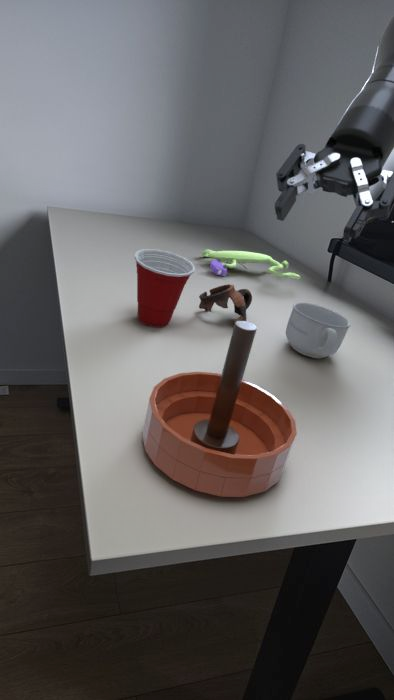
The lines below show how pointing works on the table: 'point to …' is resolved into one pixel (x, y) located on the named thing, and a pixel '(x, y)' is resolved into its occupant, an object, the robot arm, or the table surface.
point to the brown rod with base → (227, 394)
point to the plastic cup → (160, 284)
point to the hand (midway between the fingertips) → (311, 225)
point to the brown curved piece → (222, 296)
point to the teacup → (315, 330)
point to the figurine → (244, 257)
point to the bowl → (210, 465)
